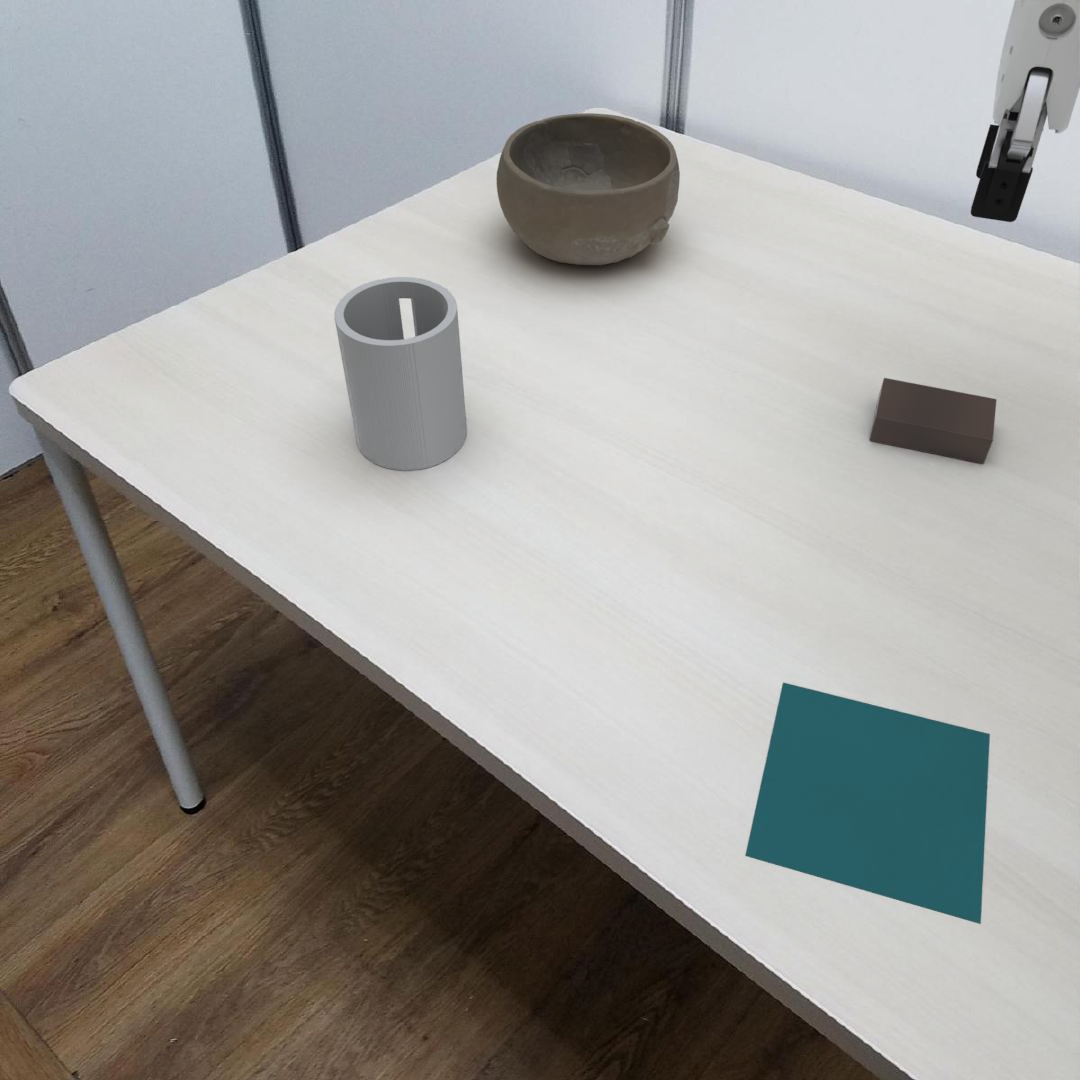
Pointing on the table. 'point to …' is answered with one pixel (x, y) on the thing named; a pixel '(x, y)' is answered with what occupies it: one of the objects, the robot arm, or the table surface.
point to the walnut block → (934, 420)
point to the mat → (875, 801)
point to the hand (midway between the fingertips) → (995, 195)
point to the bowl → (588, 187)
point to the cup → (403, 372)
